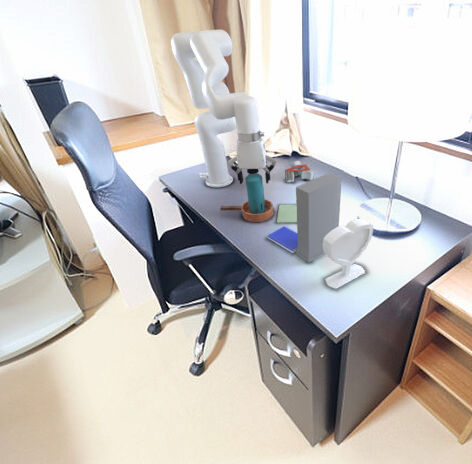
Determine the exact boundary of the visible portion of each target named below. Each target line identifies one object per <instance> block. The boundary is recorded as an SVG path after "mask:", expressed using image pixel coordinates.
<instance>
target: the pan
mask: <svg viewBox="0 0 472 464" xmlns="http://www.w3.org/2000/svg"><path fill="white" fill-rule="evenodd" d="M248 203H249V202H248V200H246V201H245V202H244V203H242V204H241V206H242V207H241V210H240V211H241V216H242V218H243V219H244V220H245V221H247V222H251V223H260V222H265V221H267V220H270V219H271V218H272V217H273V216H274V204H273V203H272V201H271V200H269V199H266V198H265V205H266V206H265V212H264V213H260V214H252V213H251V212H250V209H249V205H248Z"/></svg>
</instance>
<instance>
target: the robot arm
mask: <svg viewBox="0 0 472 464" xmlns="http://www.w3.org/2000/svg"><path fill="white" fill-rule="evenodd" d="M233 45H234V44H233V41H232V38H231V37H230V34H229V33H228V32H227V31H226V30H224V29H205V30H194V31H192V30H191V31H180V32H177V33H175V34H173V35H172V37H171V39H170V46H171V51H172V54H173V56H174V59H175V61H176V63H177V64H178V66H179V68H180V69H181V71H182V74H183V76H184V80H185V83H186V86H187V90H188V93H189V96H190V99H191V102H192V105H193V106H194V108H195V109H198V110H204V109H205V110H206V109H208V110H209V111H205V112H201V113H198V114H197V115H196V116H195V117H194V120H193V123H194V127H195V130H196V132H197V135H198V138H199V142H200V146H201V149H202V155H203V160H204V164H205V170H206V172H199V173H198V177H199V178H200V180H205V181H204V182H205V185H206V186H207V187H210V188H223V187H227V186H229V185H230V184H231V183H233V181H234V177H233V176H232V175H230V173H229V167H230V168H231V170H232V171H234V172H235V174H236V176H237V181H239V184H240V185H242V184H243V182H244V176H243V171H242V170H247V169H258V170H261V169H262V170H263V171H264V172H265V173H264V176H265V183H266V184H269V183H270V181H271V172H272V171H273V169H274V168H275V166H276V164H277V159H276V158H274V157H271V156H269V155H268V154H267V151H266V146H265V142H264V138H263V137H265V132H263V131H261V129H260V119H259V111H258V101H257V100H256V98H255V97H254V96H250V95H249V94H248V93H246V92H244V91H238V92H231V93H230V90H229V87H228V86H227V85H226V83H224V81H223V80H224V79H225V78H226V77H227V75H228V74H229V71H230V69H229V68H230V67H229V63H228V62H227V61H226V59H225V57H229V56H231V55H232V54H233V49H234V46H233ZM195 58H196V59H195ZM235 130H236V131H237V138H236V146H235V147H236V150H235V151H236V156H234V157H232V158H230V159H228V160H227V155H226V149H225V144H224V142H223V141H222V140H221V139H220V138H219V137H218V136H219V135H222V134H226V133H229V132H233V131H235ZM235 162H236V163H237V165H235V164H234V163H235ZM268 162H269V163H271V164H270V165H269V164H267V163H268ZM228 166H229V167H228Z"/></svg>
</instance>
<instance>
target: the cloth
mask: <svg viewBox="0 0 472 464" xmlns="http://www.w3.org/2000/svg"><path fill="white" fill-rule="evenodd" d="M277 212H278V213H277V217H276V223H277V224H297V204H279V205H278V211H277Z"/></svg>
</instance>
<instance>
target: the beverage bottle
mask: <svg viewBox="0 0 472 464" xmlns="http://www.w3.org/2000/svg"><path fill="white" fill-rule="evenodd" d="M259 171H260V169H246V173H247V175H246V176H245V178H244V179H245V185H246V186H245V187H246V194H247V195H246V196H247V201H248V202H249V203H248V205H249V209H250V212H251V213H252V214H260V213H264V212H265V206H266V205H265V199H266V198H265V190H264V182H263V175H262V174H260V173H259Z"/></svg>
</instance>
